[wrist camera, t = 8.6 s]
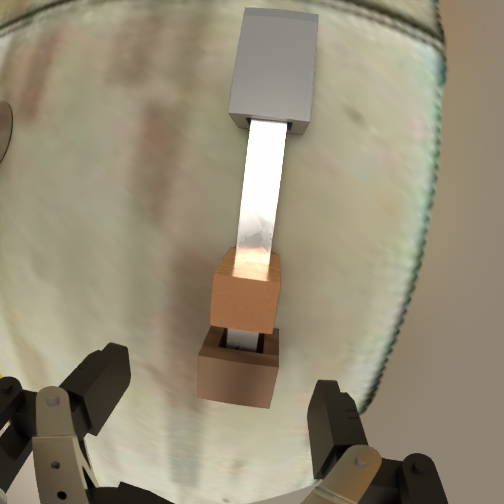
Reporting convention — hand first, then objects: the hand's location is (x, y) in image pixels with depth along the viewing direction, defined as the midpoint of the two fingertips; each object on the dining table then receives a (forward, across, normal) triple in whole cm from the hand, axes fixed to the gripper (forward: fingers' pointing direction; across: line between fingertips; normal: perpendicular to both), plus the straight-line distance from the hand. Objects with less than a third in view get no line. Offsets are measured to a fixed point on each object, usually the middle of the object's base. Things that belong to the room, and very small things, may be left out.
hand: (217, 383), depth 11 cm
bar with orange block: (+14, -1, -3) cm, 14 cm away
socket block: (+14, -1, +7) cm, 16 cm away
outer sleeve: (+14, 0, -16) cm, 22 cm away
